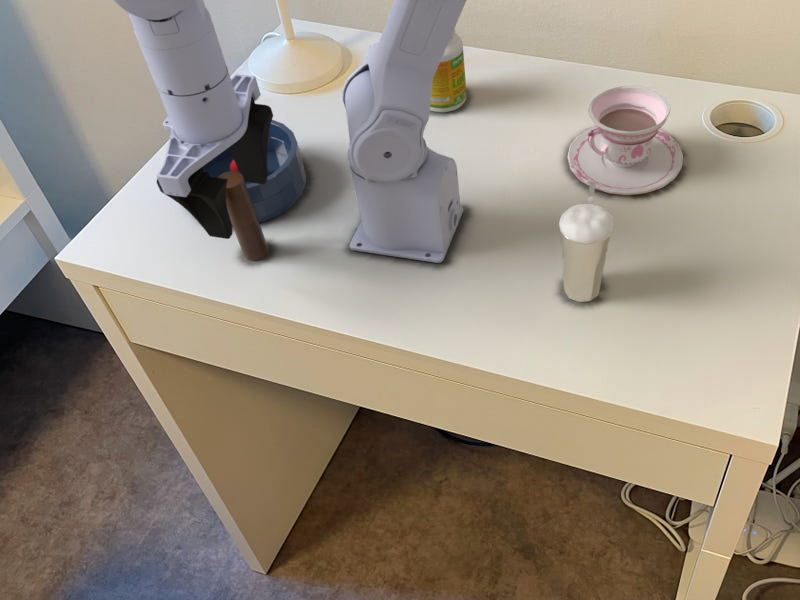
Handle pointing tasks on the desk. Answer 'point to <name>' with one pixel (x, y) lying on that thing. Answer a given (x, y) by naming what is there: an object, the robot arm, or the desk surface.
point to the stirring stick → (244, 217)
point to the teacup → (626, 143)
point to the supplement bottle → (449, 78)
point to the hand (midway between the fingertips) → (239, 207)
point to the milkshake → (584, 247)
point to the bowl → (271, 173)
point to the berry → (233, 166)
